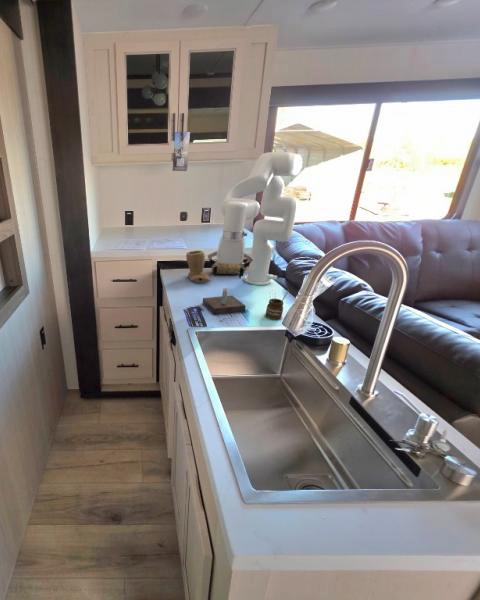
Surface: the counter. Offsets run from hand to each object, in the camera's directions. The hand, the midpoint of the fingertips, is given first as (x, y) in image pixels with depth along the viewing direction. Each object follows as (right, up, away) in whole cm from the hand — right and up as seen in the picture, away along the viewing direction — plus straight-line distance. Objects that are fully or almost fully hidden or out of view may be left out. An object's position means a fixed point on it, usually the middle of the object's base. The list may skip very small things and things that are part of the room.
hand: (227, 276), depth 129 cm
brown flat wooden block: (0, -13, +5) cm, 14 cm away
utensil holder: (+18, -17, -2) cm, 25 cm away
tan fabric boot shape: (-5, +1, +38) cm, 39 cm away
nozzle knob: (0, -10, +4) cm, 11 cm away
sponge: (+16, +5, +48) cm, 51 cm away
